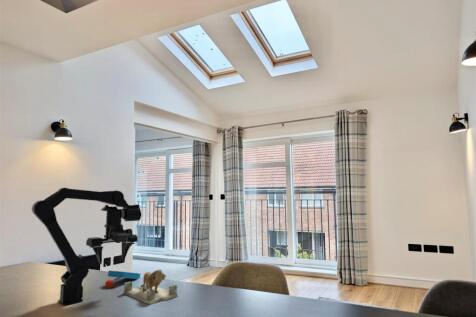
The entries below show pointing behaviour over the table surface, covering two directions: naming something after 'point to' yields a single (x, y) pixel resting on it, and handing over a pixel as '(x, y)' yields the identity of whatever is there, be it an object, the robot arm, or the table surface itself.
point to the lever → (120, 275)
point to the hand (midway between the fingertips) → (112, 262)
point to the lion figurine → (153, 279)
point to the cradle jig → (150, 293)
